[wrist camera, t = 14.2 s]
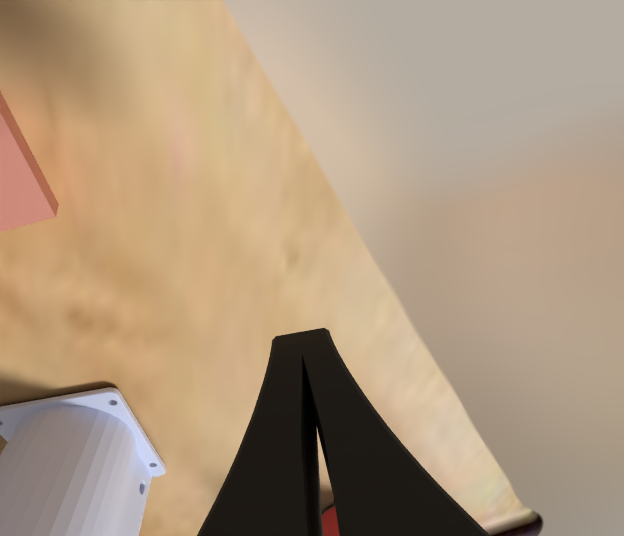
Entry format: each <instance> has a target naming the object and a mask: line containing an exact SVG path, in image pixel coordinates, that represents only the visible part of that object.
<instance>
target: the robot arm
mask: <svg viewBox="0 0 624 536" xmlns="http://www.w3.org/2000/svg"><path fill="white" fill-rule="evenodd" d="M316 425H317V426H316ZM317 429H318V433H319V438H320V442H321V446H322V450H323V454H324V458H325V462H326V466H327V471H328V475H329V479H330V483H331V487H332V491H333V495H334V502H335V508H336V515H337V522H338V528H339V535H340V536H490V535H489V534H488V533H487V532H486V531H485V530H484V529H483V528H482V527H481V526H480V525H479V524H478V523H477V522H476V521H475V520H474V519H473V518H472V517H471V516H470V515H469V514H468V513H467V512H466V511H465V510H464V509H463V508H462V507H461V506H460V505H459V504H458V503H457V502H456V501H455V500H454V499H453V498H452V497H451V496H450V495H449V494H448V493H447V492H446V491H445V490H444V489H443V488H442V487H441V486H440V485H439V484H438V483H437V482H436V481H435V480H434V479H433V478H432V477H431V475H430V474H429V473H428V472H427V471H426V470H425V469H424V468H423V467H422V466H421V465H420V464H419V462H418V461H417V460H416V459H415V458H414V457H413V456H412V454H411V453H410V452H409V451H408V450H407V449H406V448H405V446H404V445H403V444H402V443H401V442H400V440H399V439H398V438H397V437H396V436H395V434H394V433H393V432H392V431H391V429H390V428H389V427H388V426H387V424H386V423H385V422H384V420H383V419H382V418H381V416H380V415H379V414H378V413H377V411H376V410H375V409H374V407H373V406H372V404H371V403H370V402H369V400H368V399H367V397H366V396H365V394H364V393H363V392H362V390H361V389H360V387H359V386H358V384H357V383H356V381H355V380H354V378H353V377H352V375H351V373H350V372H349V370H348V369H347V367H346V365H345V363H344V362H343V360H342V358H341V356H340V355H339V353H338V351H337V349H336V347H335V345H334V343H333V340H332V338H331V335H330V332H329V330H327V329H325V328H321V329H315V330H309V331H304V332H298V333H292V334H286V335H281V336H276V337H275V338H274V339H273V340H272V347H271V352H270V358H269V362H268V366H267V370H266V374H265V377H264V381H263V384H262V387H261V390H260V393H259V396H258V400H257V403H256V406H255V409H254V412H253V414H252V417H251V420H250V422H249V425H248V427H247V430H246V433H245V435H244V438H243V440H242V443H241V445H240V448H239V450H238V453H237V455H236V457H235V460H234V462H233V464H232V466H231V469H230V471H229V473H228V475H227V477H226V479H225V482H224V484H223V486H222V488H221V490H220V492H219V494H218V496H217V498H216V500H215V502H214V504H213V506H212V508H211V510H210V512H209V514H208V516H207V517H206V519H205V521H204V523H203V525H202V527H201V529H200V531H199V533H198V535H197V536H323V527H322V515H321V497H320V479H319V461H318V443H317ZM0 435H1V436H2V437H3V438H4V439H5V440H6V441H7V442H8V443H7V444H6V446H5V448H4V449H3V451H2V453H1V454H0V536H139V531H140V527H141V523H142V518H143V514H144V510H145V505H146V501H147V497H148V492H149V488H150V484H151V479H152V477H157V476H161V475H163V474H164V473H165V470H166V467H165V465H164V463H163V462H162V460H161V459H160V457H159V455H158V454H157V452H156V450H155V449H154V447H153V445H152V444H151V442H150V441H149V439H148V437H147V436H146V434H145V432H144V431H143V429H142V427H141V426H140V424H139V423H138V421H137V419H136V418H135V416H134V414H133V413H132V411H131V410H130V408H129V406H128V405H127V403H126V401H125V400H124V398H123V396H122V395H121V393H120V392H119V391H118V389H116V388H112V387H108V388H103V389H97V390H92V391H86V392H80V393H75V394H69V395H63V396H58V397H52V398H46V399H41V400H35V401H29V402H24V403H18V404H13V405H7V406H1V407H0Z"/></svg>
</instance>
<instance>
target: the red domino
mask: <svg viewBox="0 0 624 536" xmlns="http://www.w3.org/2000/svg"><path fill="white" fill-rule="evenodd" d="M57 209H58V203H57V201H56V199H55V197H54V195H53V193H52V191H51V189H50V187H49V185H48V183H47V181H46V179H45V177H44V175H43V173H42V172H41V170H40V168H39V166H38V164H37V162H36V160H35V158H34V156H33V154H32V152H31V150H30V148H29V146H28V144H27V142H26V141H25V139H24V137H23V135H22V133H21V131H20V129H19V127H18V125H17V123H16V121H15V119H14V117H13V115H12V113H11V111H10V109H9V108H8V106H7V104H6V102H5V100H4V98H3V96H2V94H1V92H0V231H4V230H8V229H12V228H16V227H19V226H23V225H27V224H31V223H35V222H38V221H42V220H46V219H50V218H54V217H56V213H57Z"/></svg>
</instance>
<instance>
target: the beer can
mask: <svg viewBox="0 0 624 536" xmlns="http://www.w3.org/2000/svg"><path fill="white" fill-rule="evenodd" d="M322 527H323V536H340V535H339V528H338V522H337V515H336V508H335V505H333V506H332V507H330V508H328V509H327V510H326V511H325V512H324V513H323V514H322Z"/></svg>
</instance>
